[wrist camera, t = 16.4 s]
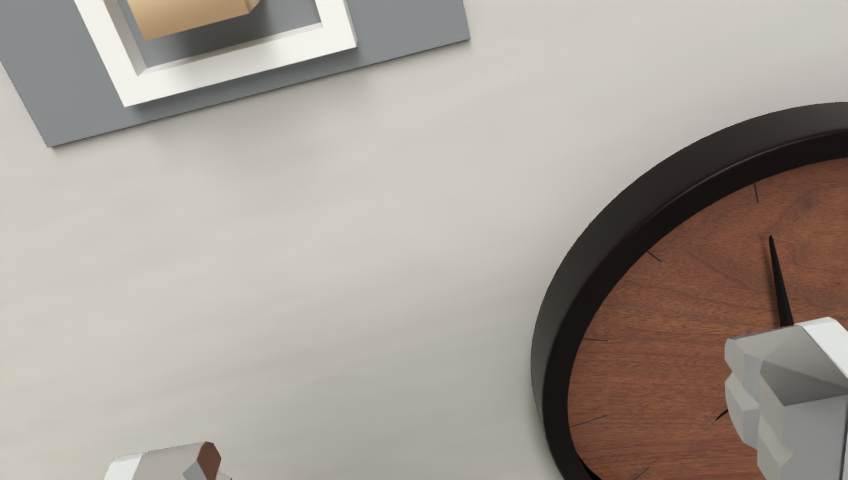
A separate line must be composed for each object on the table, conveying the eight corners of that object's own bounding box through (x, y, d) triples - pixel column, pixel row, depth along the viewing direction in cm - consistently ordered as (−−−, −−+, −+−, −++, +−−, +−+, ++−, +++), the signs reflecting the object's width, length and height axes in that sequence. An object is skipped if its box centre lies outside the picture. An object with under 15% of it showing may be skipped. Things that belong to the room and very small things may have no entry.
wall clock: (926, 565, 50) (498, 545, 47) (890, 518, 53) (490, 497, 50) (1217, 160, 35) (620, 90, 32) (1141, 132, 39) (597, 67, 35)
